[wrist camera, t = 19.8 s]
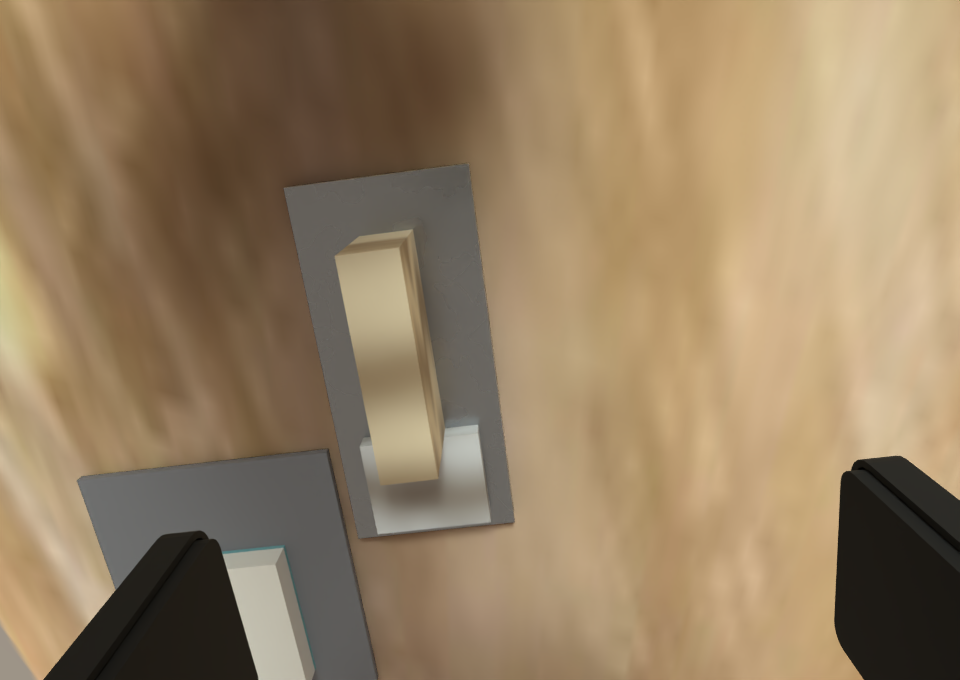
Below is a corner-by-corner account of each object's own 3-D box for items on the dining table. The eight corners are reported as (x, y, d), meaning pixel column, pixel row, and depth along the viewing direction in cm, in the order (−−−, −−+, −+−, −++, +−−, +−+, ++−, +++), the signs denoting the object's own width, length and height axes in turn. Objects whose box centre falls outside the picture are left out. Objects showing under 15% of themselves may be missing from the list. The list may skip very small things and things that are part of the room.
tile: (150, 577, 41) (191, 701, 44) (275, 564, 40) (308, 690, 43) (165, 557, 42) (204, 677, 46) (284, 544, 42) (316, 667, 45)
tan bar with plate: (323, 241, 36) (291, 261, 30) (449, 224, 35) (442, 242, 30) (380, 523, 41) (363, 586, 35) (490, 511, 41) (491, 573, 35)
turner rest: (288, 186, 36) (283, 187, 35) (468, 162, 35) (468, 163, 34) (361, 529, 42) (358, 538, 41) (513, 513, 42) (514, 522, 41)
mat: (81, 476, 41) (76, 480, 41) (328, 448, 41) (326, 452, 40) (159, 696, 47) (156, 702, 46) (378, 676, 46) (377, 681, 45)
